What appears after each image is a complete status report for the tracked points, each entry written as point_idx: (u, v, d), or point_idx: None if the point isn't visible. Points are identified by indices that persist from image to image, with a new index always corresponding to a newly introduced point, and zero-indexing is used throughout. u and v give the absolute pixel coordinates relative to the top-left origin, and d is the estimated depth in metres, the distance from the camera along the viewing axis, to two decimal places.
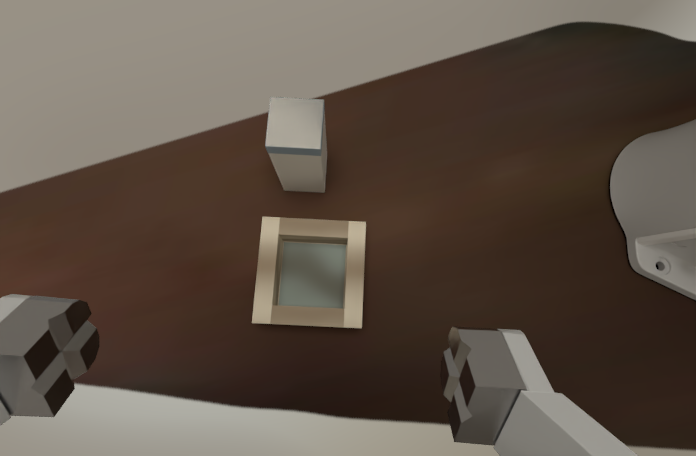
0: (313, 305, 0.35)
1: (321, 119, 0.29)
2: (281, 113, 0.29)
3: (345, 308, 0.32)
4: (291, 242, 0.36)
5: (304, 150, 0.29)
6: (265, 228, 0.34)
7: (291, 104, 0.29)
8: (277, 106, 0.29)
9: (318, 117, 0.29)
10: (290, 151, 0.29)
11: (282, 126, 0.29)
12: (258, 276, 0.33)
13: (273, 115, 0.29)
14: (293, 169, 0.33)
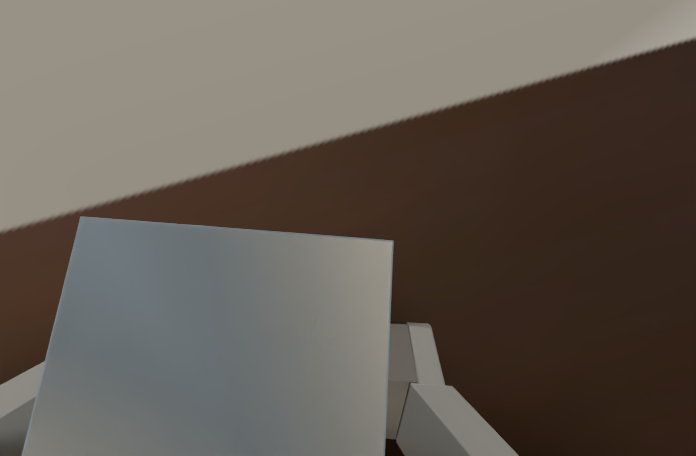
0: None
1: (381, 372, 0.05)
2: (132, 328, 0.05)
3: None
4: None
5: None
6: None
7: (202, 267, 0.05)
8: (115, 280, 0.05)
9: (363, 358, 0.05)
10: None
11: (130, 425, 0.04)
12: None
13: (82, 344, 0.05)
14: None
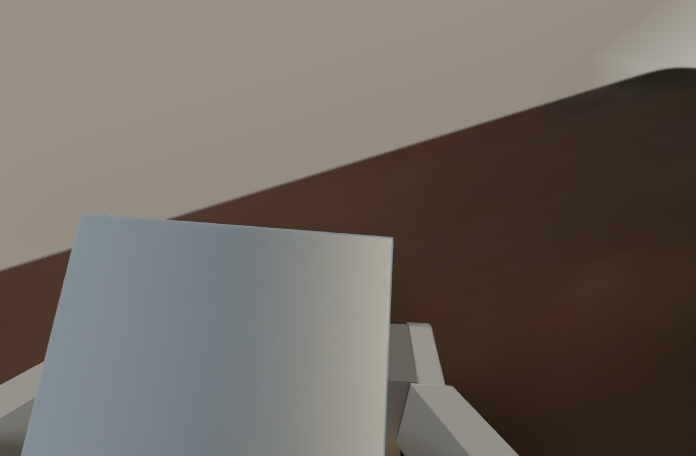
0: None
1: (381, 368, 0.05)
2: (132, 324, 0.05)
3: None
4: None
5: None
6: None
7: (202, 264, 0.05)
8: (115, 277, 0.05)
9: (363, 355, 0.05)
10: None
11: (130, 421, 0.04)
12: None
13: (82, 341, 0.05)
14: None
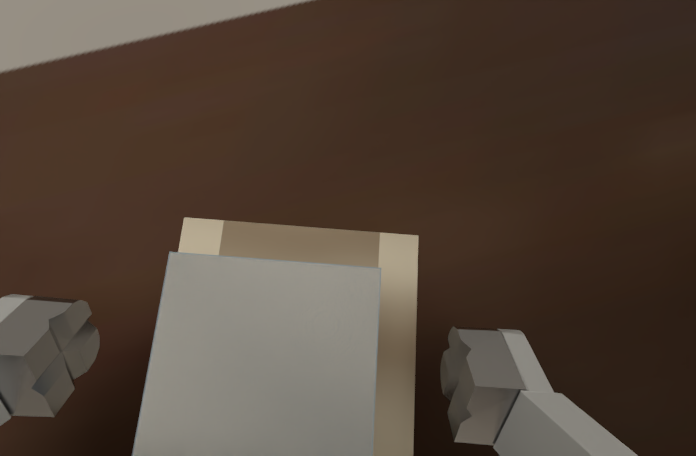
0: None
1: (372, 356, 0.07)
2: (207, 327, 0.07)
3: None
4: None
5: None
6: (188, 244, 0.15)
7: (252, 286, 0.07)
8: (194, 295, 0.07)
9: (360, 347, 0.07)
10: None
11: (209, 390, 0.07)
12: None
13: (175, 338, 0.07)
14: None
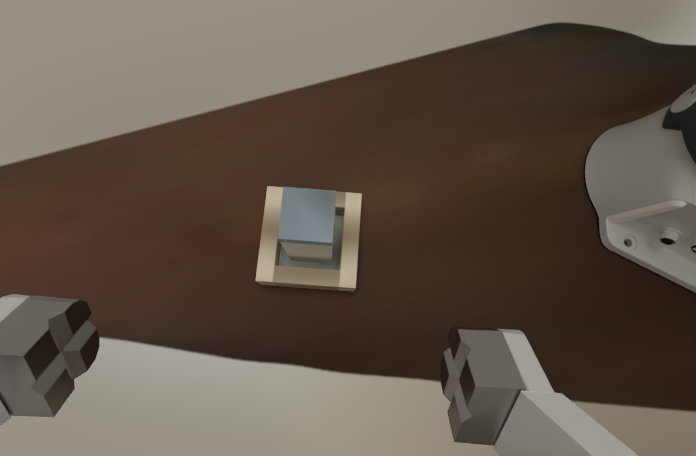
0: None
1: (333, 211, 0.29)
2: (293, 204, 0.29)
3: (341, 270, 0.35)
4: None
5: (316, 242, 0.29)
6: (269, 196, 0.37)
7: (304, 195, 0.29)
8: (290, 197, 0.29)
9: (330, 209, 0.29)
10: (302, 242, 0.29)
11: (294, 218, 0.29)
12: (262, 239, 0.36)
13: (286, 206, 0.29)
14: (303, 250, 0.33)
